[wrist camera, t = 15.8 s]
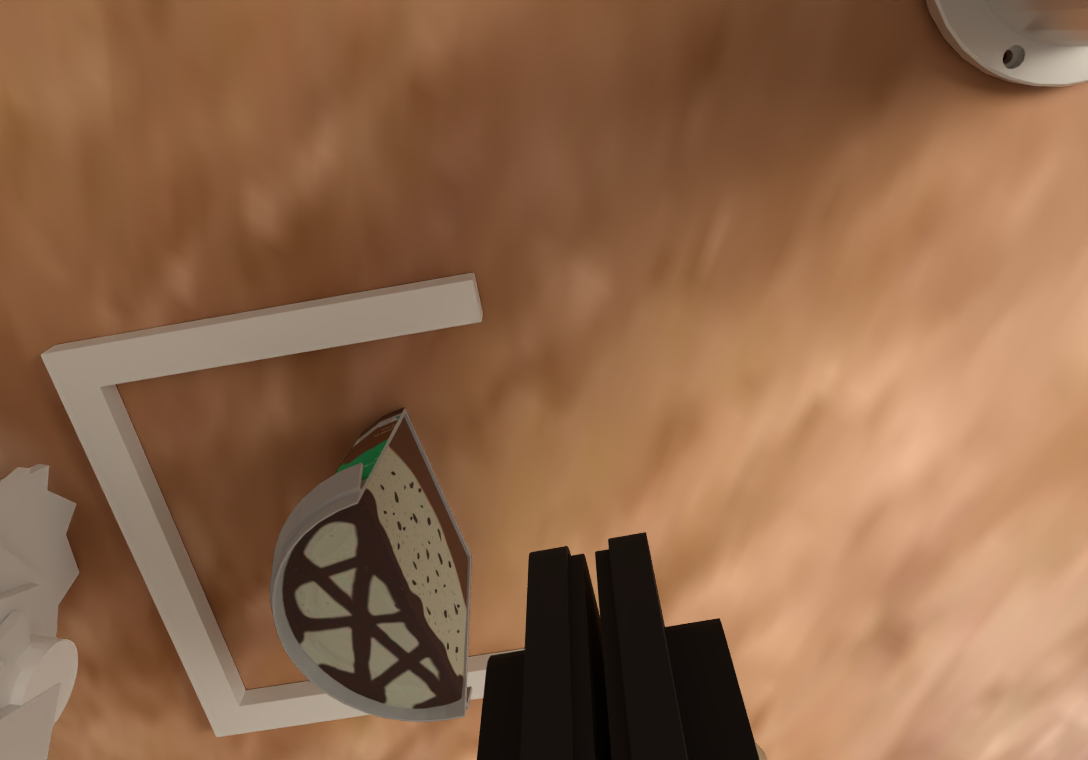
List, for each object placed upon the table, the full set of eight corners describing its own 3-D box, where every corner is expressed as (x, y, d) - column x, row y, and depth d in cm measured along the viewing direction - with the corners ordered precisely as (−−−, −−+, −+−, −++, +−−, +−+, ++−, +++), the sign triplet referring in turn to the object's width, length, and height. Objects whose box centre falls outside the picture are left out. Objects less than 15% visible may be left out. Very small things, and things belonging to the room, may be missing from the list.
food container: (276, 418, 39) (199, 536, 30) (393, 380, 38) (351, 490, 29) (376, 608, 44) (336, 760, 34) (481, 577, 43) (469, 725, 34)
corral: (474, 272, 36) (472, 279, 35) (559, 670, 46) (560, 686, 44) (54, 345, 37) (40, 354, 36) (223, 720, 47) (216, 737, 45)
